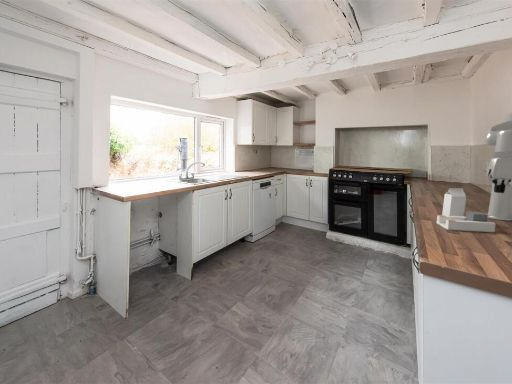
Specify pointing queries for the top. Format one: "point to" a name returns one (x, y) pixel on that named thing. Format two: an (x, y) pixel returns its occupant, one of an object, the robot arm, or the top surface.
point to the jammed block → (476, 216)
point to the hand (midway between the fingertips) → (498, 192)
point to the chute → (464, 224)
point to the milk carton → (454, 202)
